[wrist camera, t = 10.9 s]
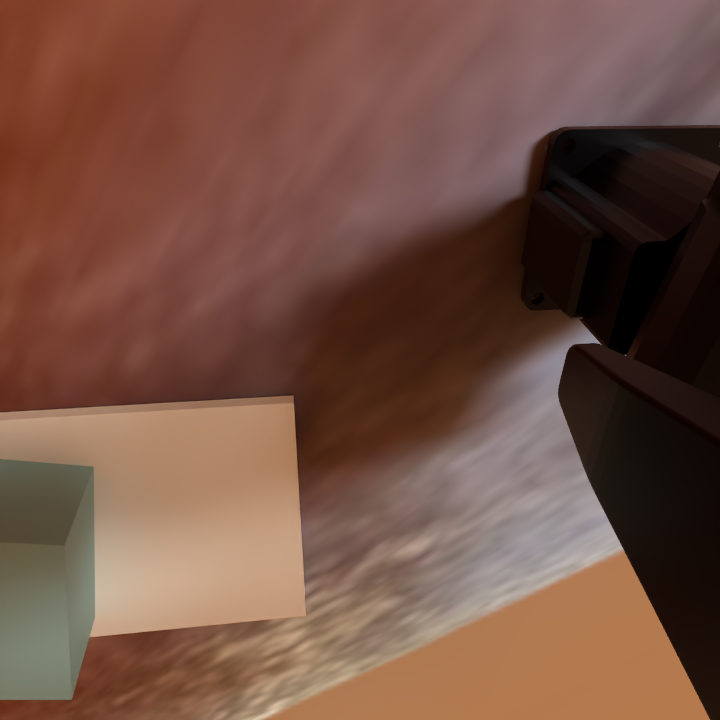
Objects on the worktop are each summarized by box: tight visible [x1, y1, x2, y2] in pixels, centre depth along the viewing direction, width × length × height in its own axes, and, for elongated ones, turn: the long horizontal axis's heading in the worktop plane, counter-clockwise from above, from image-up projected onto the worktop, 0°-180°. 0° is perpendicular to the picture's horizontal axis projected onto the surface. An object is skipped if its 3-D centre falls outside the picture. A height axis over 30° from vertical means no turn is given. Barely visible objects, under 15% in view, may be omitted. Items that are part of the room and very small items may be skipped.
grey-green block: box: [0, 459, 95, 700], centre depth 24 cm, size 10×6×4 cm, turn 167°
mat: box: [0, 395, 306, 637], centre depth 26 cm, size 20×14×1 cm
